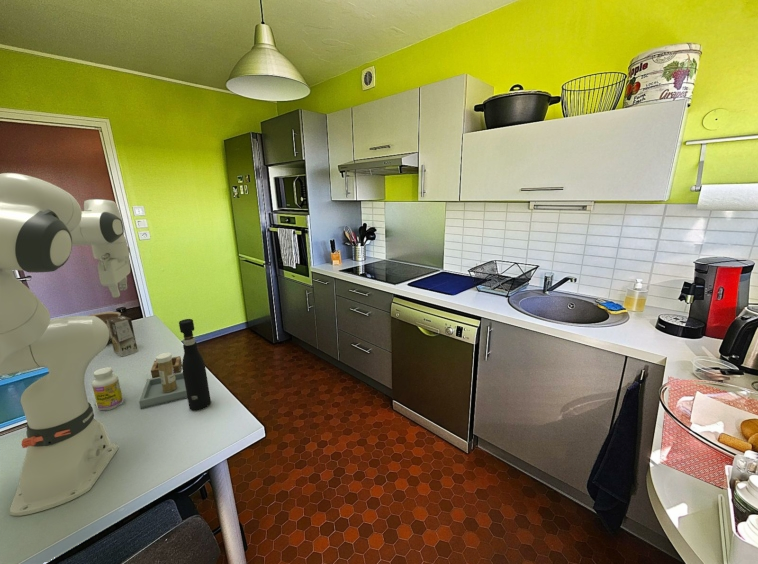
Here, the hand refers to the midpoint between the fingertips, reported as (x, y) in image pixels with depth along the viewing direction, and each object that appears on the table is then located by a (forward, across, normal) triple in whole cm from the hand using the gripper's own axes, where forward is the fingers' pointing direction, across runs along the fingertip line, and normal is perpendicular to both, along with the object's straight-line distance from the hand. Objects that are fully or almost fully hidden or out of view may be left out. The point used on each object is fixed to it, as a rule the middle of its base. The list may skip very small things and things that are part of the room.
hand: (120, 293), depth 106 cm
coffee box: (+37, +43, +13) cm, 58 cm away
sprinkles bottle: (+36, -4, -9) cm, 38 cm away
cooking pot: (+37, +63, +26) cm, 78 cm away
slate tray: (+37, -4, -9) cm, 38 cm away
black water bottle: (+37, -18, -19) cm, 46 cm away
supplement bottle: (+37, -4, +8) cm, 38 cm away
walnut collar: (+37, +12, -6) cm, 40 cm away
